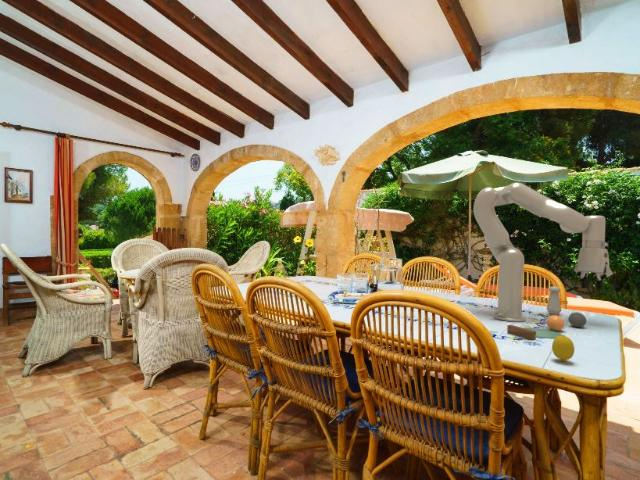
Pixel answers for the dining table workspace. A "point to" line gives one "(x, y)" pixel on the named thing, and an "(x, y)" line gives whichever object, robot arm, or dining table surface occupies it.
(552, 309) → the salt shaker
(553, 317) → the orange ball
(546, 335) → the green mark
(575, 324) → the charcoal ball
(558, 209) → the robot arm
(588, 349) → the dining table surface
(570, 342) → the lemon
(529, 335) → the stopper wall
